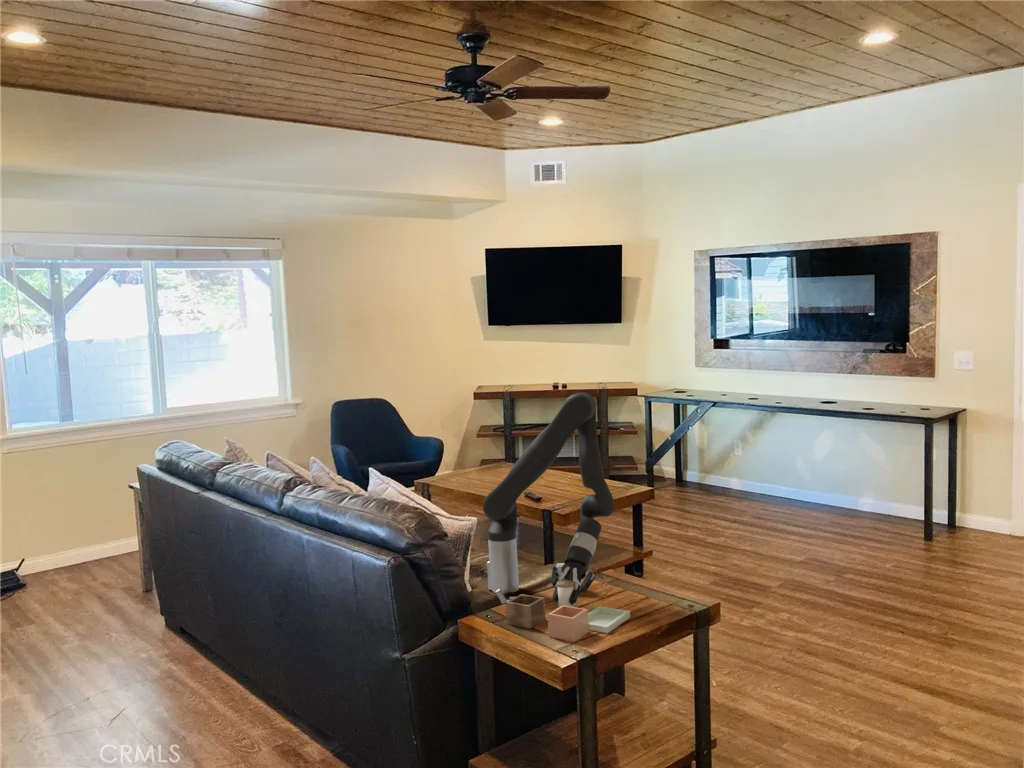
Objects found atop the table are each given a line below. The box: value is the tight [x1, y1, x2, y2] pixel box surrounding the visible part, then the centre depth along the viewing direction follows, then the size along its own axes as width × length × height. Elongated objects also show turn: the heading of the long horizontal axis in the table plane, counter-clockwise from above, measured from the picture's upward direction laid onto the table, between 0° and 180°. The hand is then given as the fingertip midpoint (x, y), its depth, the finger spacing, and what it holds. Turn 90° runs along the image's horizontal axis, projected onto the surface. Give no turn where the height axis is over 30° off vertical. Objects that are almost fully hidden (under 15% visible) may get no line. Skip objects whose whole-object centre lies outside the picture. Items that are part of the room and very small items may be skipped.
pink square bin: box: [547, 605, 590, 643], centre depth 207 cm, size 8×8×7 cm
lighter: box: [495, 588, 516, 605], centre depth 227 cm, size 7×2×8 cm, turn 88°
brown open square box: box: [505, 593, 546, 629], centre depth 219 cm, size 8×8×7 cm
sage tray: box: [588, 605, 631, 634], centre depth 215 cm, size 10×14×2 cm
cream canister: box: [557, 580, 576, 608], centre depth 224 cm, size 5×5×10 cm
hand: (563, 602), depth 222 cm, fingers closed on cream canister, 4 cm apart
